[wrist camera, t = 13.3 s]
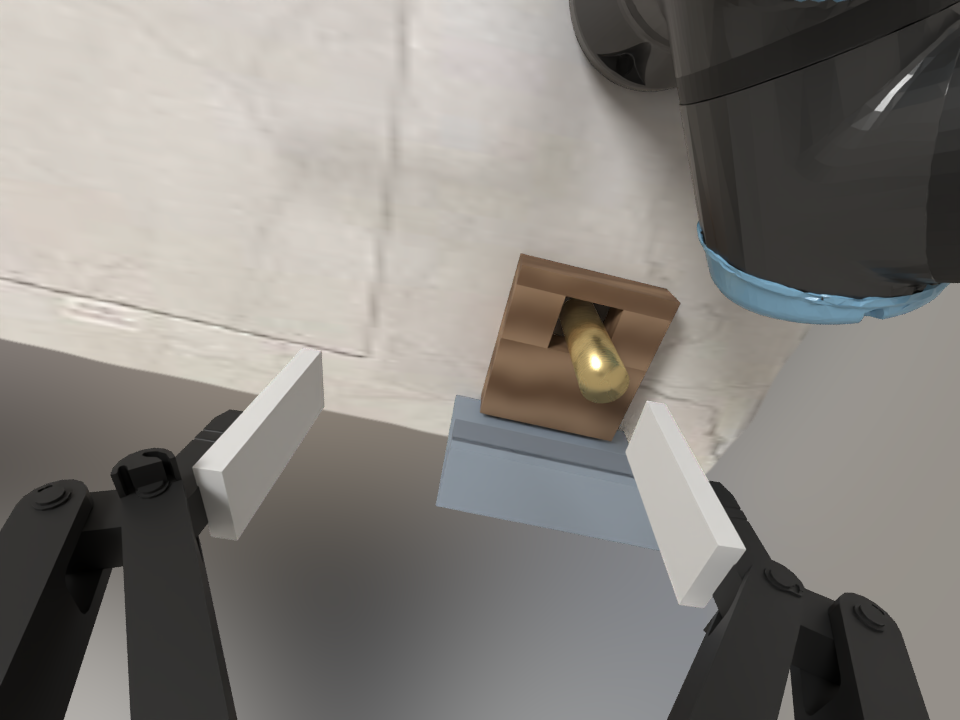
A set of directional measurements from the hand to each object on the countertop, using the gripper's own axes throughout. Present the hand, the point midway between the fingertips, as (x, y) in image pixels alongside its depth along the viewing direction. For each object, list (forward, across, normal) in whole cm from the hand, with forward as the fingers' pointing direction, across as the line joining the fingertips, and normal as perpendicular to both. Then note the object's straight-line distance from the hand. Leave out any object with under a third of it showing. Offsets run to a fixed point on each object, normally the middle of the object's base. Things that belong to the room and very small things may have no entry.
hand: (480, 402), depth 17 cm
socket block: (+29, +10, -11) cm, 33 cm away
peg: (+29, +10, -7) cm, 32 cm away
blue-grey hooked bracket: (+29, +9, -19) cm, 36 cm away
